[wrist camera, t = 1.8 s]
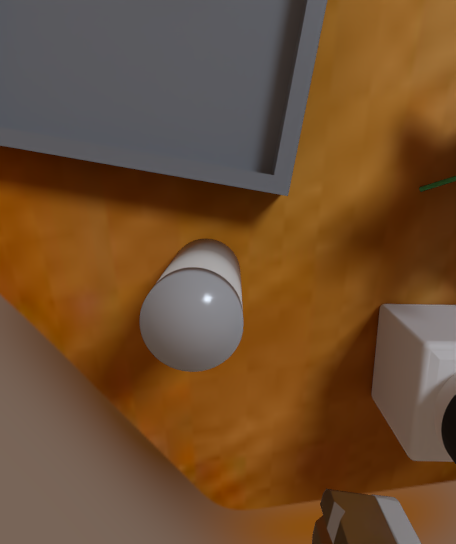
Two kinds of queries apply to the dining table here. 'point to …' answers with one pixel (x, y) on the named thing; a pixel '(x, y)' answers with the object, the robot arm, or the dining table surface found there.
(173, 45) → the tray
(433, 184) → the lily
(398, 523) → the robot arm
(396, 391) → the medicine bottle
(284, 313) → the dining table surface
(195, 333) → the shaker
